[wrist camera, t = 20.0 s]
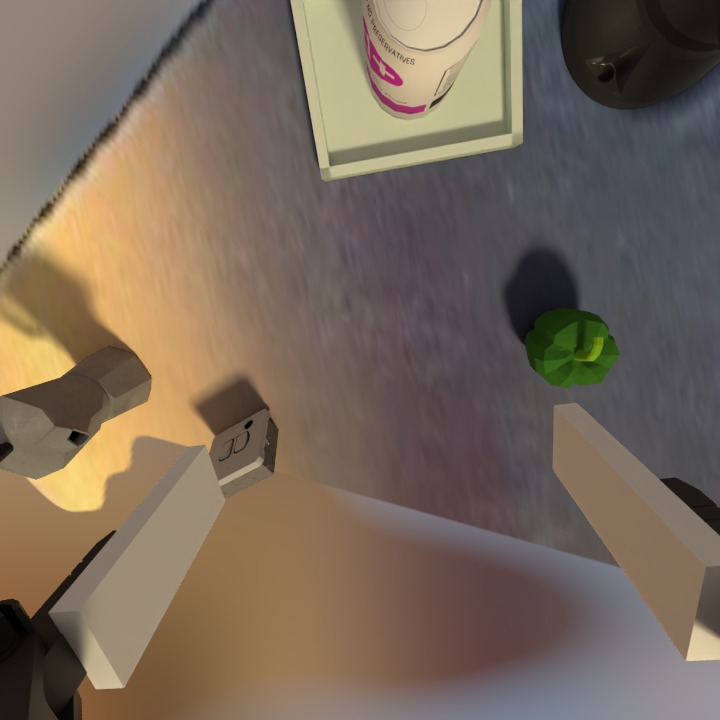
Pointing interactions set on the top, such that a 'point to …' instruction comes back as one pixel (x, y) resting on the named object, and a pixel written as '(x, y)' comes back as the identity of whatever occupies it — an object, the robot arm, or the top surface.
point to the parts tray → (397, 136)
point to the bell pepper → (570, 347)
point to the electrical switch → (244, 453)
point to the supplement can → (418, 50)
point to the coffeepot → (68, 411)
